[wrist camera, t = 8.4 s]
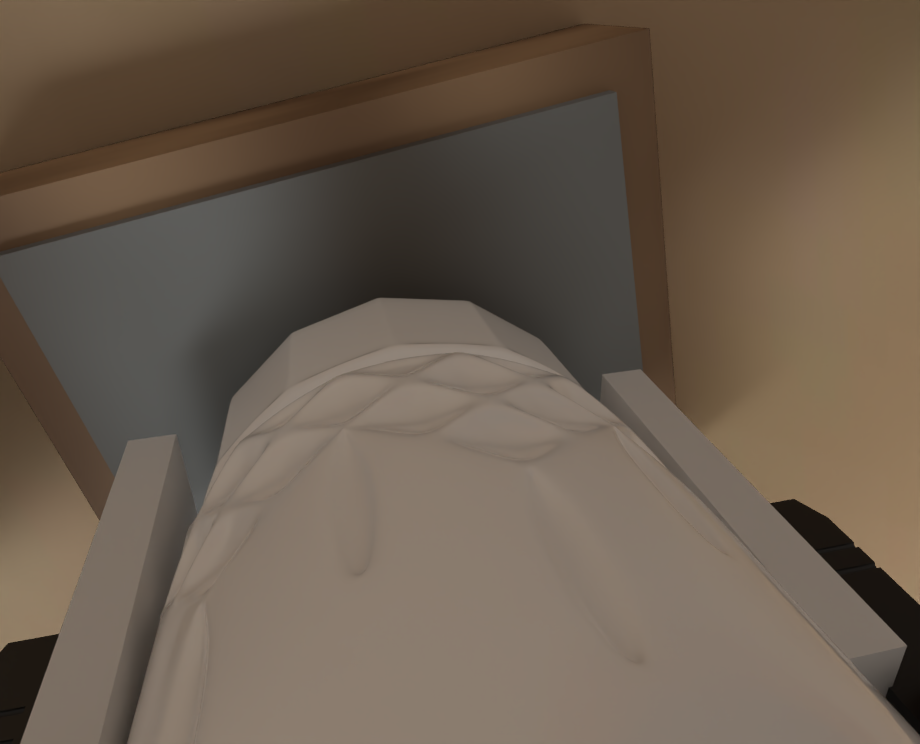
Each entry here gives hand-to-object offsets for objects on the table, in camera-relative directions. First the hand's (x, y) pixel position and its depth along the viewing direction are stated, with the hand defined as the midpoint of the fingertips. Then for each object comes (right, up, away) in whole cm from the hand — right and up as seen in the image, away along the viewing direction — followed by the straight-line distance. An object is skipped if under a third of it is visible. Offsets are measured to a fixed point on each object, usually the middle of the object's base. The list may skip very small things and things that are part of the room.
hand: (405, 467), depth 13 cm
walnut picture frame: (-1, +2, +4) cm, 5 cm away
